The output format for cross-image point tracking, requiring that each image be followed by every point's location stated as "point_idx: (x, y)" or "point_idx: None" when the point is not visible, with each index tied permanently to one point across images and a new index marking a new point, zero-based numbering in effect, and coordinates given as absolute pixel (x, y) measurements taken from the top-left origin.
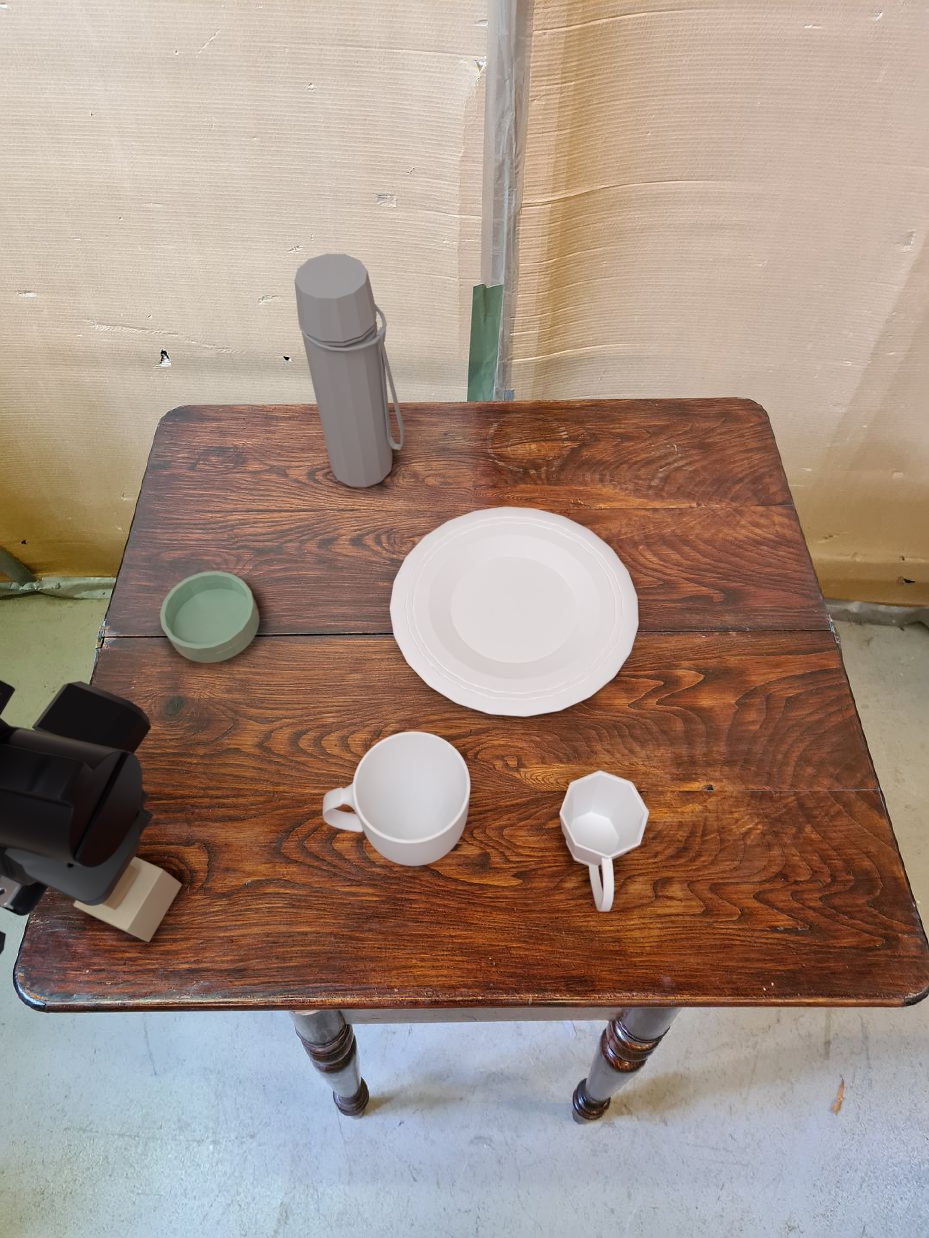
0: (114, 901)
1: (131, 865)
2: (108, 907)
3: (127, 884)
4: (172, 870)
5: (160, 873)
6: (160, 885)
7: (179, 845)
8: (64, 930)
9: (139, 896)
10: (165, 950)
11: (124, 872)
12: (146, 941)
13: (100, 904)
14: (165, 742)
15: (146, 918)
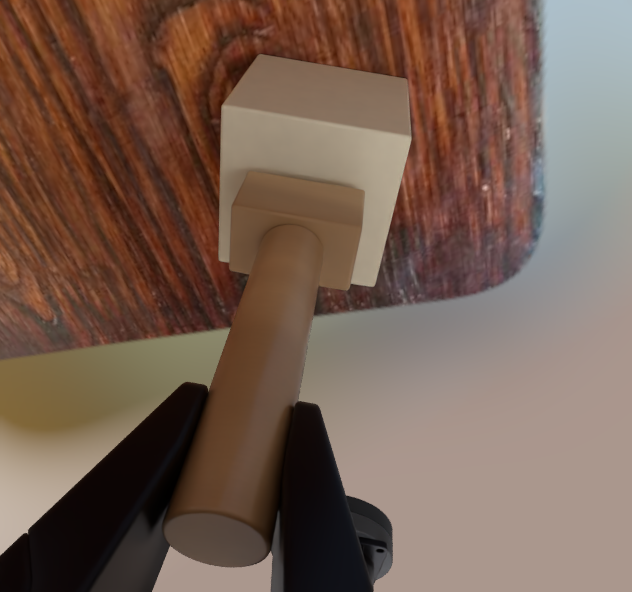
0: (345, 204)
1: None
2: None
3: (290, 187)
4: None
5: (235, 107)
6: (269, 96)
7: (179, 101)
8: (412, 260)
9: (313, 140)
10: (420, 26)
11: (257, 212)
12: (407, 85)
13: None
14: (7, 222)
15: (362, 100)
